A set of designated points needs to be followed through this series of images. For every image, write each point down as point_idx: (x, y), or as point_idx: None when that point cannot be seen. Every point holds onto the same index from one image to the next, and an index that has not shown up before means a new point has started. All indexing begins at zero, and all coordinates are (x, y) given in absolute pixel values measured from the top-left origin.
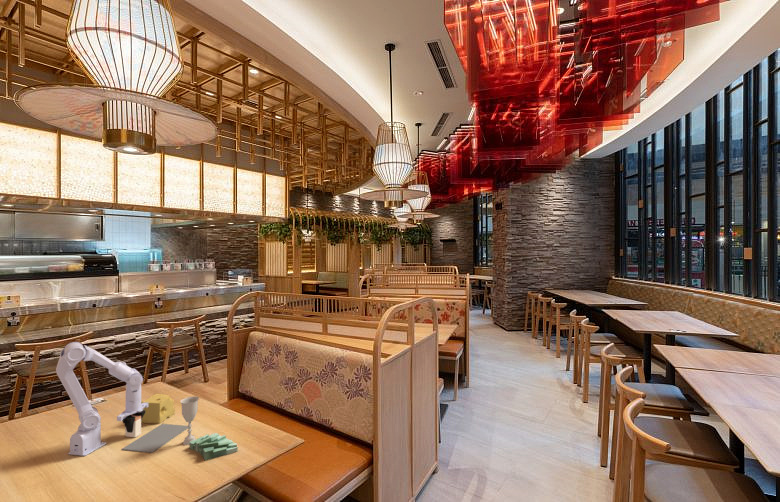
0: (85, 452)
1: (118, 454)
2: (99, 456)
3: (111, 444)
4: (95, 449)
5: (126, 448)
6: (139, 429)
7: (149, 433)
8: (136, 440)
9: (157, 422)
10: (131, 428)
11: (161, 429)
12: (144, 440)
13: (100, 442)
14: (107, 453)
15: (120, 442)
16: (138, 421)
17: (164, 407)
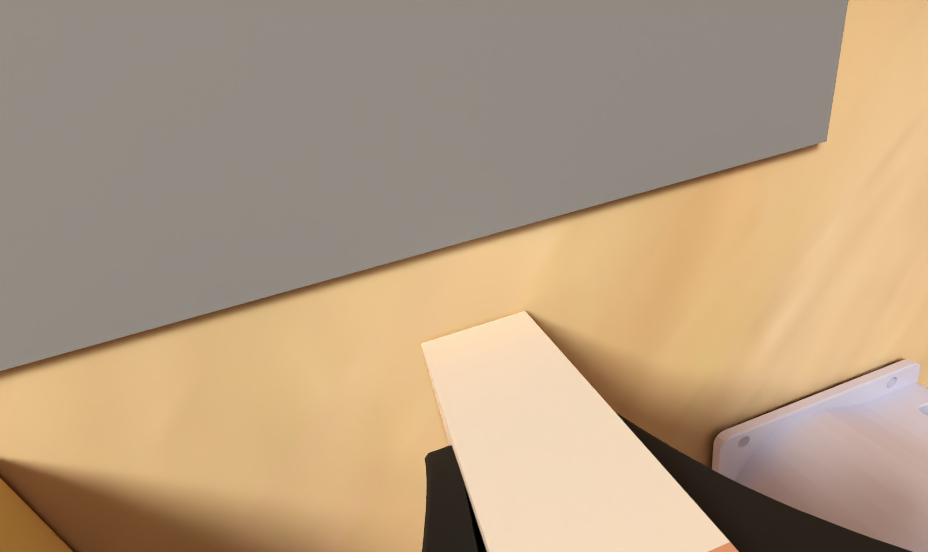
0: (906, 393)
1: (905, 58)
2: (918, 234)
3: (710, 383)
4: (831, 392)
5: (816, 82)
6: (476, 386)
7: (365, 213)
8: (610, 182)
9: (1, 503)
10: (649, 435)
11: (107, 144)
12: (582, 36)
13: (779, 465)
14: (873, 220)
15: (661, 346)
16: (590, 529)
17: None
